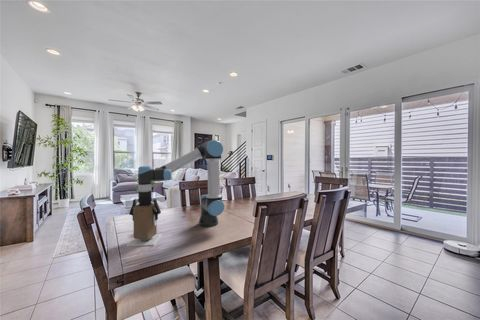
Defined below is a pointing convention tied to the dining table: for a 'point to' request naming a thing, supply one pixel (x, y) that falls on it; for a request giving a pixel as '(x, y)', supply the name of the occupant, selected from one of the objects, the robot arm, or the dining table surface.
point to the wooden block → (144, 222)
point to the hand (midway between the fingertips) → (145, 225)
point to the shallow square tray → (145, 241)
